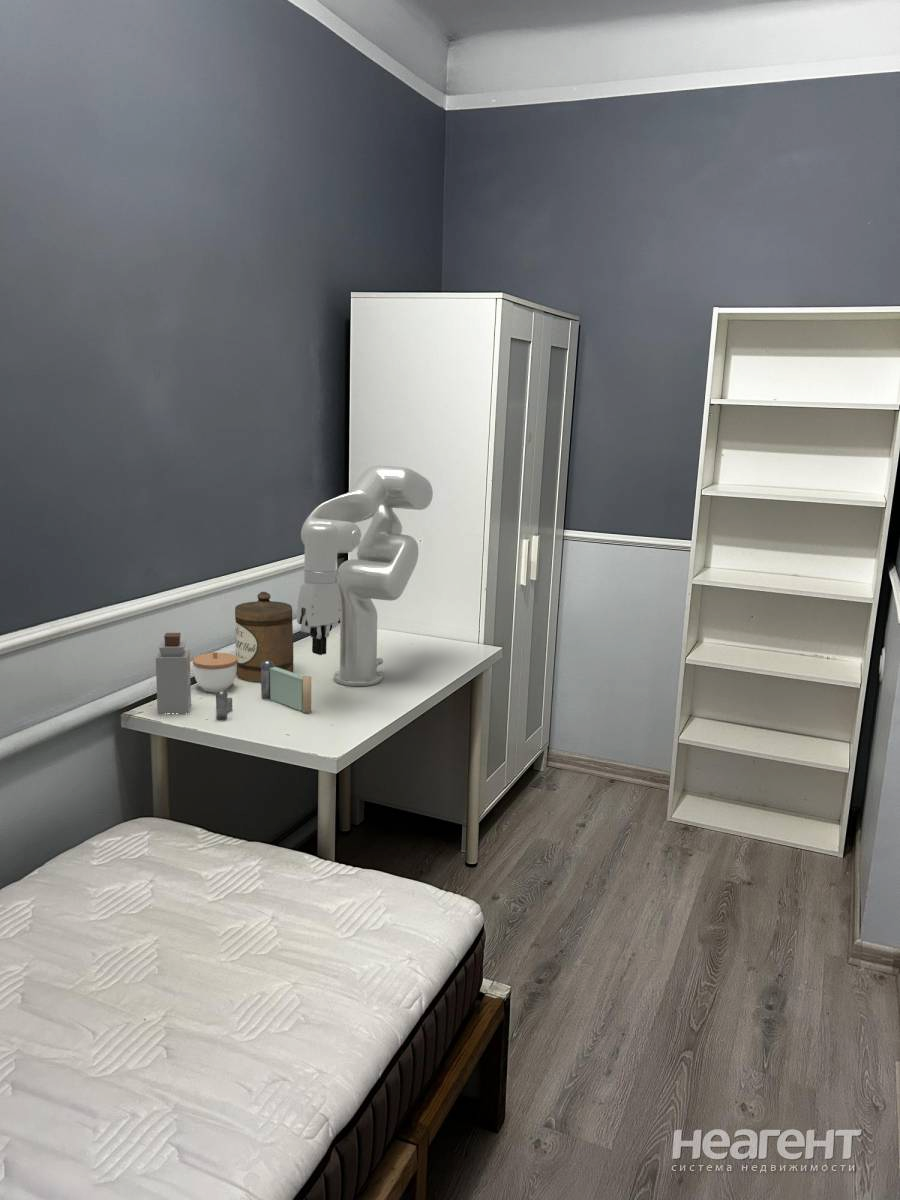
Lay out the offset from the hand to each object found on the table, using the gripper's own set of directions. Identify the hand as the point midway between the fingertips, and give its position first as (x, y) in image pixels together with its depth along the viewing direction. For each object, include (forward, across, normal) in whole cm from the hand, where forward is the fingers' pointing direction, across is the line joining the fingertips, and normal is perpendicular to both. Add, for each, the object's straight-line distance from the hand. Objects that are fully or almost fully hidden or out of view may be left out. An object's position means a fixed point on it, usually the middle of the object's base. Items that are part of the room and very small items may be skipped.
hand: (319, 653), depth 221 cm
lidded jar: (+13, +10, -27) cm, 31 cm away
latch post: (+13, +20, -9) cm, 26 cm away
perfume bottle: (+13, +26, -20) cm, 36 cm away
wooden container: (+13, -6, -28) cm, 31 cm away
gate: (+12, +5, -4) cm, 14 cm away
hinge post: (+13, +5, -12) cm, 18 cm away
